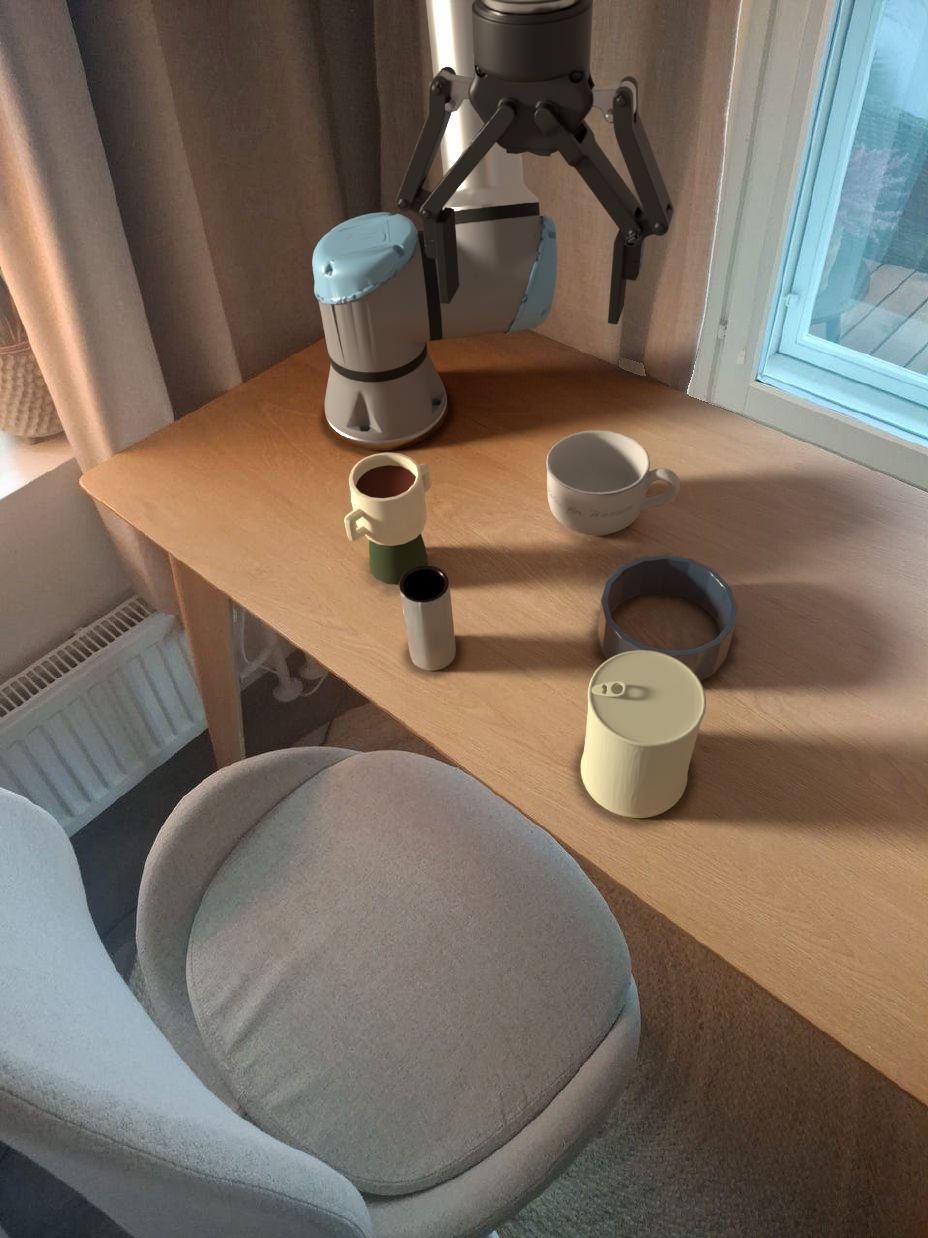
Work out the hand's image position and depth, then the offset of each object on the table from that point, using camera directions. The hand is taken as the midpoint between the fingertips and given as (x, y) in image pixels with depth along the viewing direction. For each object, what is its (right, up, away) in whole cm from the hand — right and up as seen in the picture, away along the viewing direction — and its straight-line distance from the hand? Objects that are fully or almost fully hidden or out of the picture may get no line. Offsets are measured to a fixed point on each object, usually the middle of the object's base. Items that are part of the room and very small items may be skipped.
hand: (531, 304), depth 72 cm
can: (+10, -38, +8) cm, 40 cm away
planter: (-8, -28, +17) cm, 34 cm away
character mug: (-12, -20, +25) cm, 34 cm away
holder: (+14, -27, +17) cm, 35 cm away
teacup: (+10, -14, +28) cm, 33 cm away
